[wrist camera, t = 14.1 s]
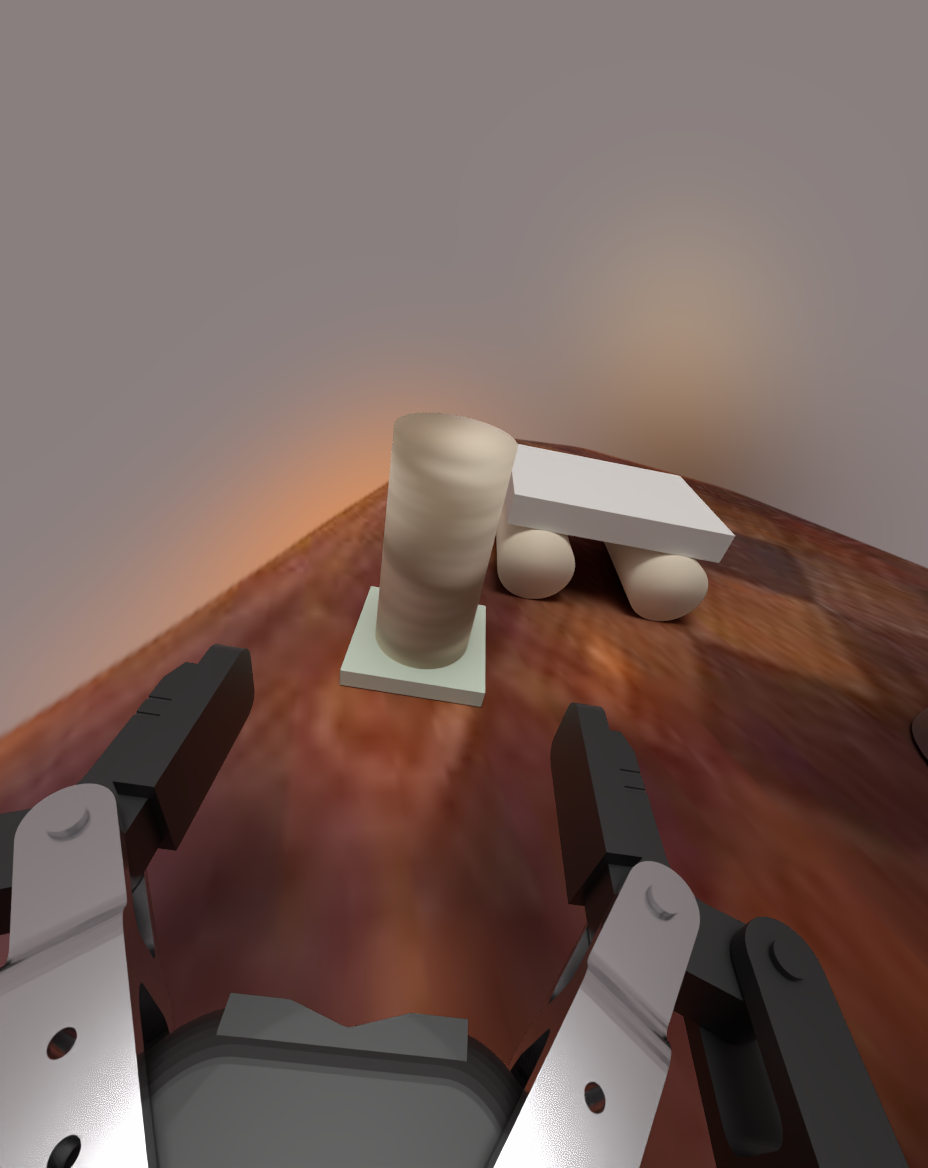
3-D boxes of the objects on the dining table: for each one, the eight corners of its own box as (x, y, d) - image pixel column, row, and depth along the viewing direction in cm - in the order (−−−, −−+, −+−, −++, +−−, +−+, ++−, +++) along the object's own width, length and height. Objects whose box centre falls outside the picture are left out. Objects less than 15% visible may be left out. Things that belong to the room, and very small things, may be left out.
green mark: (482, 618, 29) (485, 605, 28) (480, 706, 23) (484, 693, 22) (370, 599, 28) (371, 586, 28) (339, 684, 22) (340, 670, 22)
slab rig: (643, 547, 41) (677, 473, 37) (686, 626, 32) (738, 539, 28) (489, 519, 40) (508, 440, 36) (489, 591, 31) (514, 497, 27)
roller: (470, 613, 27) (515, 427, 21) (465, 676, 23) (520, 469, 17) (385, 598, 27) (405, 404, 20) (365, 659, 23) (382, 442, 16)
